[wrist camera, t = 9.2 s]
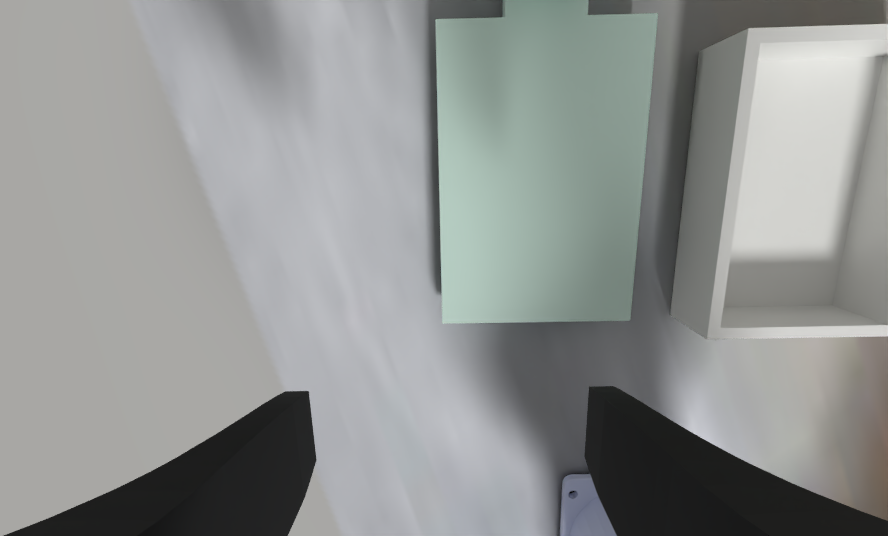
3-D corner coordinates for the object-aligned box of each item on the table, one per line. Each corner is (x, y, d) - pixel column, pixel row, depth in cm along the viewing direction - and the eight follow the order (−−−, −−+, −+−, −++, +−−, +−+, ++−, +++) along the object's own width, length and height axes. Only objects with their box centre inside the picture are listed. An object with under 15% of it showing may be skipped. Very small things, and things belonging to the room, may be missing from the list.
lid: (614, 307, 21) (658, 344, 16) (442, 310, 21) (441, 347, 16) (646, -87, 17) (715, -175, 12) (434, -80, 17) (429, -166, 12)
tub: (833, 312, 20) (897, 335, 17) (669, 315, 20) (706, 339, 18) (888, 45, 18) (976, 21, 15) (699, 51, 18) (748, 28, 15)
